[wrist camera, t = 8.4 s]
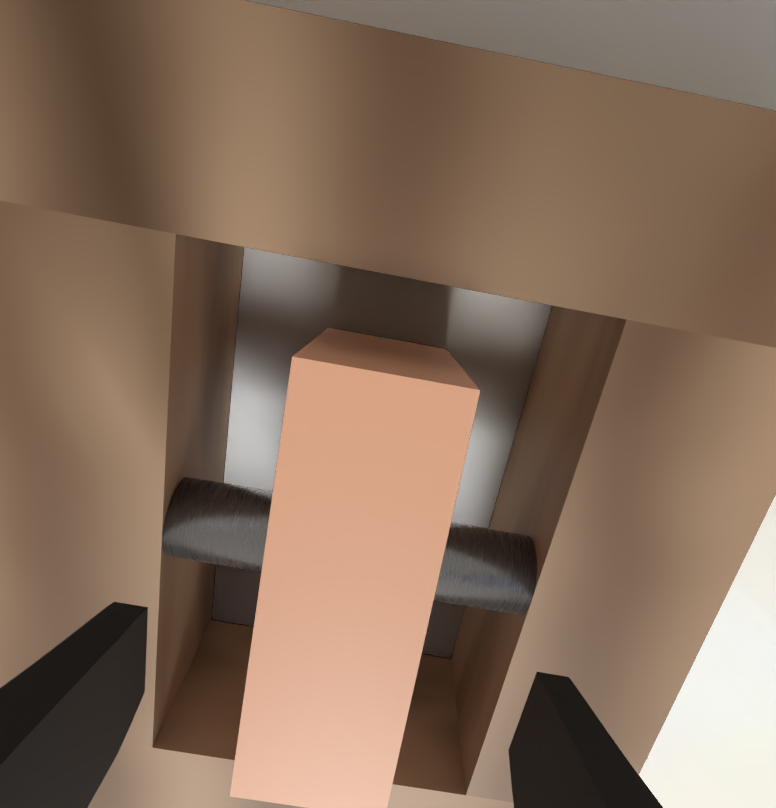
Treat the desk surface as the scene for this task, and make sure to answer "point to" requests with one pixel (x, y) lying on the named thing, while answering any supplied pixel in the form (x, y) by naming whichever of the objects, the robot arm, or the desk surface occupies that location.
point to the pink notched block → (350, 567)
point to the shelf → (395, 255)
